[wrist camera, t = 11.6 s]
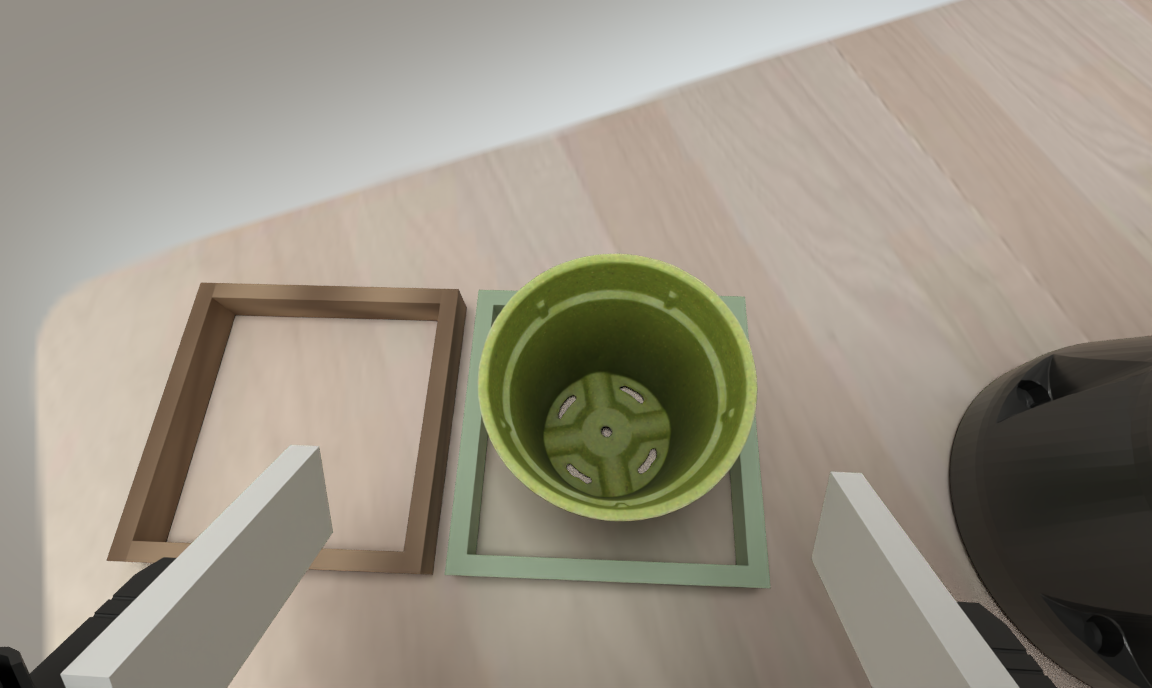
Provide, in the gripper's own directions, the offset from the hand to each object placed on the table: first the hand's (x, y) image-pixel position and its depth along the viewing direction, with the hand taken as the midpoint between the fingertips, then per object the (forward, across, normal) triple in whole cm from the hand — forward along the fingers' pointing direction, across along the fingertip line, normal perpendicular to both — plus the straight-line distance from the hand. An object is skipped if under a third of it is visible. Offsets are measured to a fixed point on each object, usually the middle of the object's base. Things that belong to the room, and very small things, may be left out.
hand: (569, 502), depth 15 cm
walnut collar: (+11, -13, -5) cm, 18 cm away
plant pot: (+12, +1, -5) cm, 12 cm away
